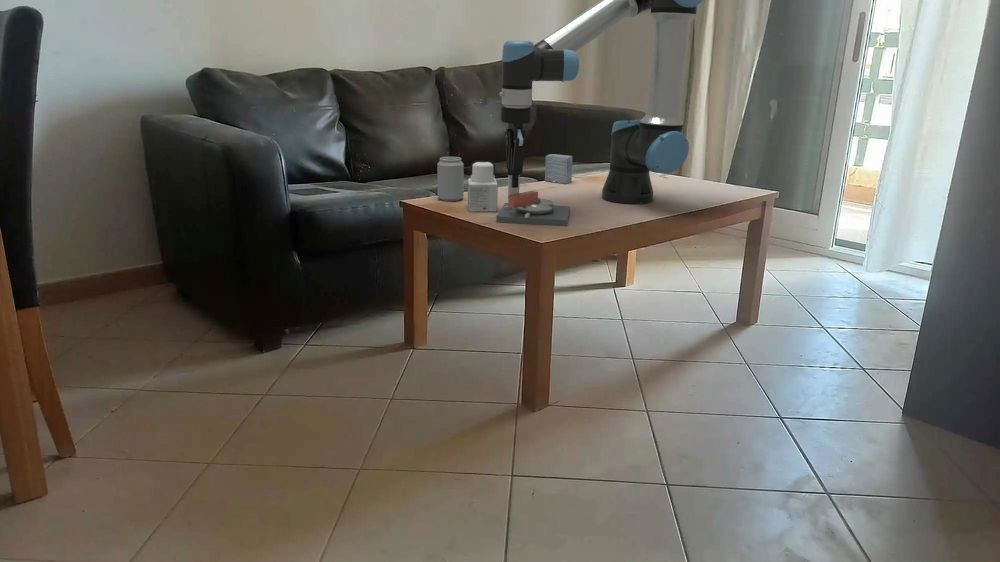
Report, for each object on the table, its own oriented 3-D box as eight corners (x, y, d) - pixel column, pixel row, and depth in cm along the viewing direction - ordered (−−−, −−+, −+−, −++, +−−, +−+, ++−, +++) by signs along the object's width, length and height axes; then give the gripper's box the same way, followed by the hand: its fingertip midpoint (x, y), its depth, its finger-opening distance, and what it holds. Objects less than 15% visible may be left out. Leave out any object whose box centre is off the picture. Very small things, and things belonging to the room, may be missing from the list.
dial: (533, 204, 197) (534, 185, 196) (561, 210, 191) (562, 191, 189) (497, 211, 188) (497, 192, 186) (525, 218, 181) (525, 199, 180)
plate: (569, 211, 198) (570, 203, 197) (566, 225, 183) (567, 217, 182) (504, 208, 200) (504, 199, 199) (496, 221, 185) (496, 213, 184)
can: (459, 202, 205) (460, 160, 201) (434, 200, 207) (434, 159, 203) (466, 197, 212) (466, 156, 208) (441, 195, 214) (441, 155, 210)
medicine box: (571, 182, 238) (573, 156, 235) (565, 184, 234) (567, 157, 231) (550, 179, 241) (551, 153, 239) (544, 181, 238) (545, 155, 235)
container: (467, 205, 202) (467, 159, 198) (495, 205, 203) (496, 159, 198) (468, 211, 195) (469, 163, 191) (497, 212, 195) (498, 164, 191)
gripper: (496, 103, 184) (494, 193, 192) (507, 109, 172) (504, 205, 180) (524, 103, 186) (521, 193, 194) (537, 109, 174) (533, 204, 182)
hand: (513, 198), depth 187 cm, fingers closed
